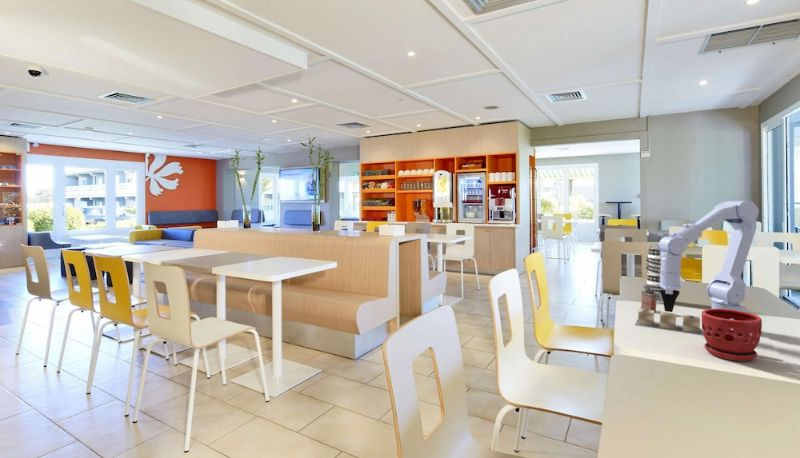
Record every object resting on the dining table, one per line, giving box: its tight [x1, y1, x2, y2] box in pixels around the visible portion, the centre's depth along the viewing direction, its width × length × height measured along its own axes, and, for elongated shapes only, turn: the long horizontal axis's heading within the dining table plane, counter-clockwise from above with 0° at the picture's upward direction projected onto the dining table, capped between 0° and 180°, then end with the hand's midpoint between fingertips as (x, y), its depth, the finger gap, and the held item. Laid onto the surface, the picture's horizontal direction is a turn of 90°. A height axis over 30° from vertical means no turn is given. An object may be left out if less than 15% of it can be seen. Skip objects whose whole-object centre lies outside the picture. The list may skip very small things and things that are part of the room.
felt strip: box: [634, 318, 703, 336], centre depth 142 cm, size 19×9×1 cm, turn 56°
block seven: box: [637, 308, 655, 326], centre depth 145 cm, size 4×4×5 cm
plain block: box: [659, 311, 677, 330], centre depth 141 cm, size 4×4×4 cm
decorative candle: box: [645, 243, 665, 304], centre depth 183 cm, size 9×9×25 cm
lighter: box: [640, 284, 657, 314], centre depth 164 cm, size 8×3×10 cm, turn 178°
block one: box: [682, 314, 701, 333], centre depth 138 cm, size 4×4×5 cm
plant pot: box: [701, 308, 763, 362], centre depth 115 cm, size 13×13×12 cm
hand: (668, 311), depth 141 cm, fingers closed
